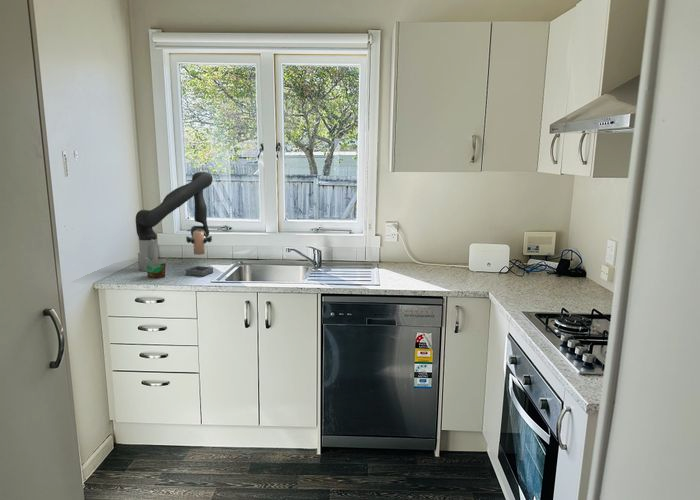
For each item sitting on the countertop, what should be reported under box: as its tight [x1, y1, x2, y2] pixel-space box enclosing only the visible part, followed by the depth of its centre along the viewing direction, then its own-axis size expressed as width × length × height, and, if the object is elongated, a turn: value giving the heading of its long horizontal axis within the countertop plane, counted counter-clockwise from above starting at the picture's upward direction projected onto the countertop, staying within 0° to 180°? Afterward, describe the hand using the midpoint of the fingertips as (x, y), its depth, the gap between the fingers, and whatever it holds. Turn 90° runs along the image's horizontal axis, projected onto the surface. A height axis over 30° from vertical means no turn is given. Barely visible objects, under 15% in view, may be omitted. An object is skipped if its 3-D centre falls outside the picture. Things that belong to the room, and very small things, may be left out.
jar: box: [193, 231, 206, 256], centre depth 257 cm, size 6×6×12 cm
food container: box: [144, 257, 168, 280], centre depth 246 cm, size 12×6×10 cm, turn 73°
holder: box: [185, 265, 214, 278], centre depth 257 cm, size 10×10×3 cm
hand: (198, 241), depth 254 cm, fingers closed on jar, 5 cm apart
